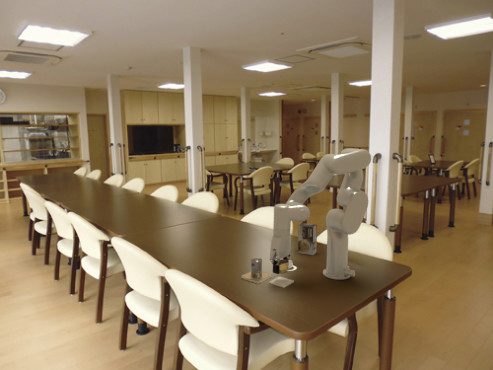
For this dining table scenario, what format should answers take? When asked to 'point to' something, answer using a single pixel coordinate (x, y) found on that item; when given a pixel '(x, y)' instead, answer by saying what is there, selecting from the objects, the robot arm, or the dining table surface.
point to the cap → (283, 266)
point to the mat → (281, 282)
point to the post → (256, 272)
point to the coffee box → (307, 238)
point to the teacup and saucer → (291, 266)
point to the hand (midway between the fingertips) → (280, 270)
